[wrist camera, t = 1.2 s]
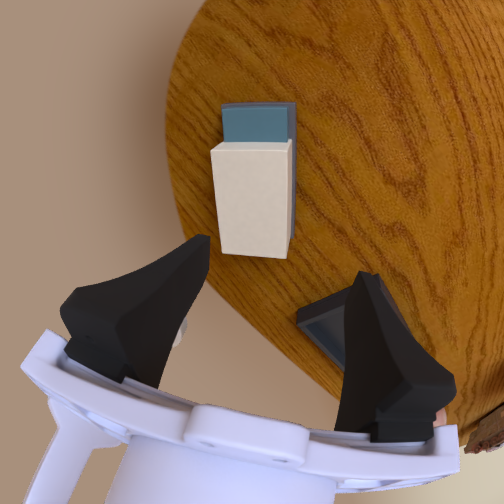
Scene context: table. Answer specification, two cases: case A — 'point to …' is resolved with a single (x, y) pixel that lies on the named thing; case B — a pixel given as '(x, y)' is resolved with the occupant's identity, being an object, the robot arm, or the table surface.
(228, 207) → the toy truck
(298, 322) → the tray
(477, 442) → the decorative box
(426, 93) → the table surface
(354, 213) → the table surface
